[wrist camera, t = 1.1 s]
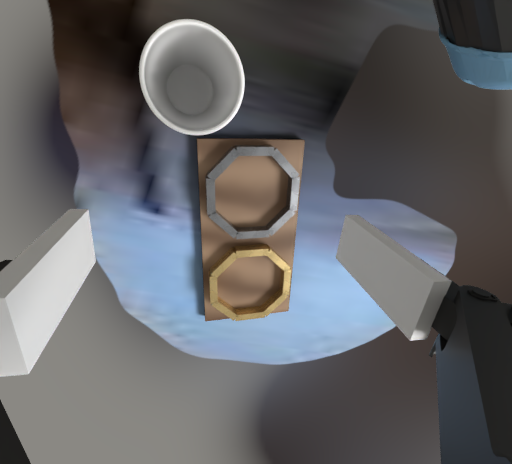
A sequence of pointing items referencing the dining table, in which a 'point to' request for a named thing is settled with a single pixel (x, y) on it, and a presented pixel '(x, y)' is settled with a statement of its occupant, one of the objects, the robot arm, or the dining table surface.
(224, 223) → the near collar
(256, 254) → the far collar
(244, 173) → the walnut board
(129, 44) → the dining table surface
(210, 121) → the drinking glass
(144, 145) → the dining table surface
